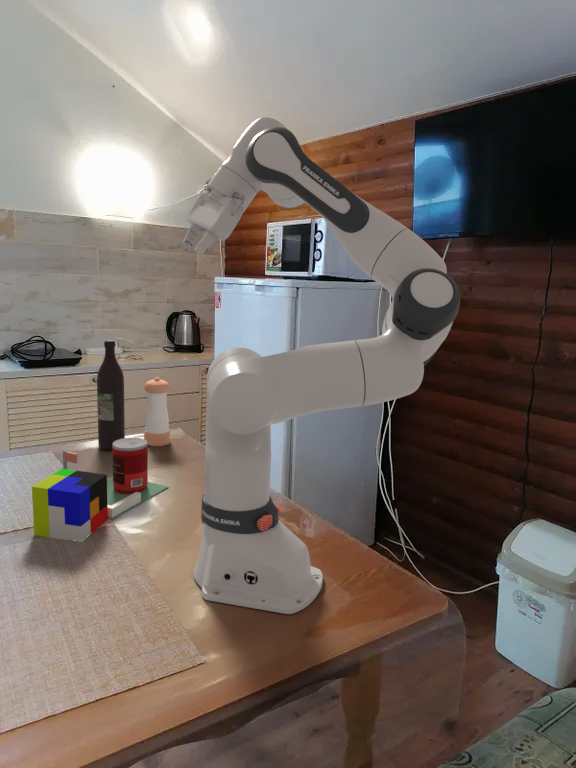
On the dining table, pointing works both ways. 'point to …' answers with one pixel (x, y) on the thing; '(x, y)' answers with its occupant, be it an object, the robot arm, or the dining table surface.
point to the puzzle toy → (70, 504)
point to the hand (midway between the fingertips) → (191, 249)
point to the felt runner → (146, 494)
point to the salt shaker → (157, 413)
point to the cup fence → (112, 509)
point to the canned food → (130, 465)
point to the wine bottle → (110, 399)
